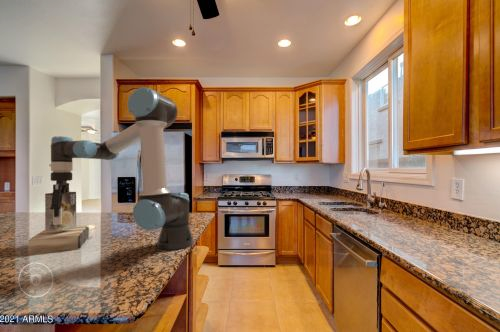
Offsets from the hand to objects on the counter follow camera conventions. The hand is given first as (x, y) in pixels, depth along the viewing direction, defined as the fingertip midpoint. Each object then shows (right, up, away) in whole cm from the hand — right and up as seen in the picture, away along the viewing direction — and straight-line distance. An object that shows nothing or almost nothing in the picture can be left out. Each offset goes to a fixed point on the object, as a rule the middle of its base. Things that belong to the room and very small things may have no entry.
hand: (61, 221), depth 104 cm
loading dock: (0, -10, 0) cm, 10 cm away
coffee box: (0, -3, 0) cm, 3 cm away
